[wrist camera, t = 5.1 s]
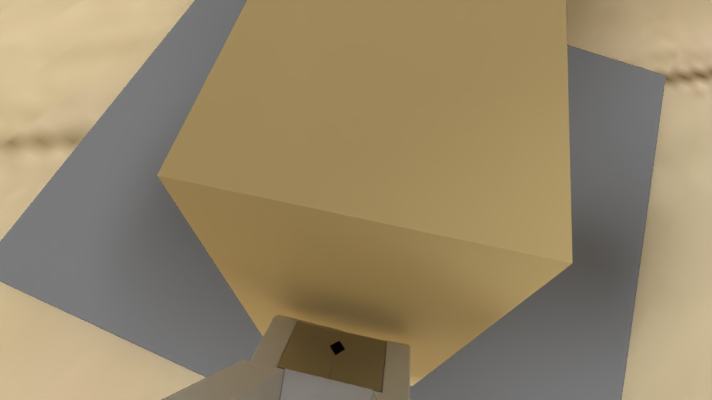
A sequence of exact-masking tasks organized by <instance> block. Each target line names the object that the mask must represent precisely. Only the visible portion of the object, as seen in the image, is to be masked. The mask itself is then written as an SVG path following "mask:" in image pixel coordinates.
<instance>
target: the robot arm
mask: <svg viewBox="0 0 712 400" xmlns="http://www.w3.org/2000/svg"><path fill="white" fill-rule="evenodd" d="M410 359H411V347H410V346H409V345H408V344H403V343H398V342H393V341H388V340H387V341H384V340H380V339H376V338H371V337H367V336H362V335H358V334H353V333H349V332H344V331H342V330H338V329H334V328H330V327H326V326H322V325H319V324H315V323H311V322H307V321H303V320H298V319H295V318H290V317H286V316H282V315H278V314H277V315H276V316H274V317H273V319H272V321H271V323H270V324H269V326H268V328H267V330H266V332H265V334H264V336H263V337H262V339H261V341H260V343H259V345H258V347H257V348H256V350H255V352H254V354H253V356H252V358H251V359H250V361H248V360H241V361H239V362H237V363H235V364H233V365H231V366H229V367H227V368H225V369H223V370H221V371H219V372H217V373H215V374H213V375H211V376H209V377H206V378H204V379H202V380H200V381H198V382H196V383H194V384H192V385H190V386H188V387H186V388H184V389H182V390H180V391H178V392H176V393H174V394H172V395H170V396H168V397H166V398H164V399H162V400H410Z"/></svg>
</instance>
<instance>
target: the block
mask: <svg viewBox="0 0 712 400" xmlns="http://www.w3.org/2000/svg"><path fill="white" fill-rule="evenodd" d="M157 176H158V177H159V179H160V180H161V182H162V183H163V185H164V187H165V188H166V190H167V191H168V193H169V194H170V196H171V197H172V199H173V200H174V202H175V203H176V205H177V206H178V208H179V209H180V211H181V212H182V214H183V216H184V217H185V219H186V220H187V222H188V223H189V225H190V226H191V228H192V229H193V231H194V232H195V234H196V235H197V237H198V238H199V240H200V241H201V243H202V245H203V246H204V248H205V249H206V251H207V252H208V254H209V255H210V257H211V258H212V260H213V261H214V263H215V264H216V266H217V267H218V269H219V270H220V272H221V273H222V275H223V277H224V278H225V280H226V281H227V283H228V284H229V286H230V287H231V289H232V290H233V292H234V293H235V295H236V296H237V298H238V299H239V301H240V302H241V304H242V306H243V307H244V309H245V310H246V312H247V313H248V315H249V316H250V318H251V319H252V321H253V322H254V324H255V325H256V327H257V328H258V330H259V331H260V333H261V335H262V336H264V334H265V332H266V330H267V328H268V326H269V324H270V323H271V321H272V319H273V317H274V316H276V315H277V314H278V315H282V316H286V317H290V318H295V319H298V320H303V321H307V322H311V323H315V324H319V325H322V326H326V327H330V328H334V329H338V330H342V331H344V332H349V333H353V334H358V335H362V336H367V337H371V338H376V339H380V340H384V341H387V340H388V341H393V342H398V343H403V344H408V345H409V346H410V347H411V359H410V386H413V385H414V384H416V383H417V382H418V381H420V380H421V379H422V378H424V377H425V376H426V375H427V374H429V373H430V372H431V371H433V370H434V369H435V368H437V367H438V366H439V365H441V364H442V363H443V362H444V361H446V360H447V359H448V358H450V357H451V356H452V355H454V354H455V353H456V352H457V351H459V350H460V349H461V348H463V347H464V346H465V345H467V344H468V343H469V342H471V341H472V340H473V339H474V338H476V337H477V336H478V335H480V334H481V333H482V332H484V331H485V330H486V329H487V328H489V327H490V326H491V325H493V324H494V323H495V322H497V321H498V320H499V319H501V318H502V317H503V316H504V315H506V314H507V313H508V312H510V311H511V310H512V309H514V308H515V307H516V306H517V305H519V304H520V303H521V302H523V301H524V300H525V299H527V298H528V297H529V296H531V295H532V294H533V293H534V292H536V291H537V290H538V289H540V288H541V287H542V286H544V285H545V284H546V283H547V282H549V281H550V280H551V279H553V278H554V277H555V276H557V275H558V274H559V273H561V272H562V271H563V270H564V269H566V268H567V267H568V266H570V265H571V264H572V221H571V180H570V138H569V97H568V56H567V14H566V0H247V1H246V3H245V5H244V7H243V9H242V11H241V13H240V15H239V17H238V19H237V21H236V23H235V25H234V27H233V29H232V31H231V33H230V34H229V36H228V38H227V40H226V42H225V44H224V46H223V48H222V50H221V52H220V54H219V56H218V58H217V60H216V62H215V64H214V66H213V68H212V69H211V71H210V73H209V75H208V77H207V79H206V81H205V83H204V85H203V87H202V89H201V91H200V93H199V95H198V97H197V99H196V101H195V103H194V104H193V106H192V108H191V110H190V112H189V114H188V116H187V118H186V120H185V122H184V124H183V126H182V128H181V130H180V132H179V134H178V136H177V138H176V139H175V141H174V143H173V145H172V147H171V149H170V151H169V153H168V155H167V157H166V159H165V161H164V163H163V165H162V167H161V169H160V171H159V173H158V174H157Z"/></svg>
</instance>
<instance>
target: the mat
mask: <svg viewBox="0 0 712 400" xmlns="http://www.w3.org/2000/svg"><path fill="white" fill-rule="evenodd" d="M246 1H247V0H195V1H194V2H193V3H192V5H191V6H190V7H189V8H188V10H187V11H186V12H185V13H184V15H183V16H182V17H181V18H180V20H179V21H178V22H177V23H176V25H175V26H174V27H173V28H172V30H171V31H170V32H169V33H168V34H167V36H166V37H165V38H164V39H163V41H162V42H161V43H160V44H159V46H158V47H157V48H156V49H155V51H154V52H153V53H152V54H151V56H150V57H149V58H148V59H147V61H146V62H145V63H144V64H143V65H142V67H141V68H140V69H139V70H138V72H137V73H136V74H135V75H134V77H133V78H132V79H131V80H130V82H129V83H128V84H127V85H126V87H125V88H124V89H123V90H122V91H121V93H120V94H119V95H118V96H117V98H116V99H115V100H114V101H113V103H112V104H111V105H110V106H109V108H108V109H107V110H106V111H105V113H104V114H103V115H102V116H101V118H100V119H99V120H98V121H97V122H96V124H95V125H94V126H93V127H92V129H91V130H90V131H89V132H88V134H87V135H86V136H85V137H84V139H83V140H82V141H81V142H80V144H79V145H78V146H77V147H76V149H75V150H74V151H73V152H72V153H71V155H70V156H69V157H68V158H67V160H66V161H65V162H64V163H63V165H62V166H61V167H60V168H59V170H58V171H57V172H56V173H55V175H54V176H53V177H52V178H51V179H50V181H49V182H48V183H47V184H46V186H45V187H44V188H43V189H42V191H41V192H40V193H39V194H38V196H37V197H36V198H35V199H34V201H33V202H32V203H31V204H30V206H29V207H28V208H27V209H26V210H25V212H24V213H23V214H22V215H21V217H20V218H19V219H18V220H17V222H16V223H15V224H14V225H13V227H12V228H11V229H10V230H9V232H8V233H7V234H6V235H5V237H4V238H3V239H2V240H1V241H0V282H3V283H5V284H7V285H9V286H11V287H13V288H15V289H18V290H20V291H22V292H24V293H26V294H28V295H30V296H33V297H35V298H37V299H39V300H41V301H43V302H45V303H48V304H50V305H52V306H54V307H56V308H58V309H60V310H63V311H65V312H67V313H69V314H71V315H73V316H76V317H78V318H80V319H82V320H84V321H86V322H88V323H91V324H93V325H95V326H97V327H99V328H101V329H103V330H106V331H108V332H110V333H112V334H114V335H116V336H118V337H121V338H123V339H125V340H127V341H129V342H131V343H134V344H136V345H138V346H140V347H142V348H144V349H146V350H149V351H151V352H153V353H155V354H157V355H159V356H161V357H164V358H166V359H168V360H170V361H172V362H174V363H176V364H179V365H181V366H183V367H185V368H187V369H189V370H191V371H194V372H196V373H198V374H200V375H202V376H204V377H209V376H211V375H213V374H215V373H217V372H219V371H221V370H223V369H225V368H227V367H229V366H231V365H233V364H235V363H237V362H239V361H241V360H248V361H250V359H251V358H252V356H253V354H254V352H255V350H256V348H257V347H258V345H259V343H260V341H261V339H262V337H263V336H262V335H261V333H260V331H259V330H258V328H257V327H256V325H255V324H254V322H253V321H252V319H251V318H250V316H249V315H248V313H247V312H246V310H245V309H244V307H243V306H242V304H241V302H240V301H239V299H238V298H237V296H236V295H235V293H234V292H233V290H232V289H231V287H230V286H229V284H228V283H227V281H226V280H225V278H224V277H223V275H222V273H221V272H220V270H219V269H218V267H217V266H216V264H215V263H214V261H213V260H212V258H211V257H210V255H209V254H208V252H207V251H206V249H205V248H204V246H203V245H202V243H201V241H200V240H199V238H198V237H197V235H196V234H195V232H194V231H193V229H192V228H191V226H190V225H189V223H188V222H187V220H186V219H185V217H184V216H183V214H182V212H181V211H180V209H179V208H178V206H177V205H176V203H175V202H174V200H173V199H172V197H171V196H170V194H169V193H168V191H167V190H166V188H165V187H164V185H163V183H162V182H161V180H160V179H159V177H158V176H157V174H158V173H159V171H160V169H161V167H162V165H163V163H164V161H165V159H166V157H167V155H168V153H169V151H170V149H171V147H172V145H173V143H174V141H175V139H176V138H177V136H178V134H179V132H180V130H181V128H182V126H183V124H184V122H185V120H186V118H187V116H188V114H189V112H190V110H191V108H192V106H193V104H194V103H195V101H196V99H197V97H198V95H199V93H200V91H201V89H202V87H203V85H204V83H205V81H206V79H207V77H208V75H209V73H210V71H211V69H212V68H213V66H214V64H215V62H216V60H217V58H218V56H219V54H220V52H221V50H222V48H223V46H224V44H225V42H226V40H227V38H228V36H229V34H230V33H231V31H232V29H233V27H234V25H235V23H236V21H237V19H238V17H239V15H240V13H241V11H242V9H243V7H244V5H245V3H246ZM567 56H568V97H569V138H570V180H571V221H572V264H571V265H570V266H568V267H567V268H566V269H564V270H563V271H562V272H561V273H559V274H558V275H557V276H555V277H554V278H553V279H551V280H550V281H549V282H547V283H546V284H545V285H544V286H542V287H541V288H540V289H538V290H537V291H536V292H534V293H533V294H532V295H531V296H529V297H528V298H527V299H525V300H524V301H523V302H521V303H520V304H519V305H517V306H516V307H515V308H514V309H512V310H511V311H510V312H508V313H507V314H506V315H504V316H503V317H502V318H501V319H499V320H498V321H497V322H495V323H494V324H493V325H491V326H490V327H489V328H487V329H486V330H485V331H484V332H482V333H481V334H480V335H478V336H477V337H476V338H474V339H473V340H472V341H471V342H469V343H468V344H467V345H465V346H464V347H463V348H461V349H460V350H459V351H457V352H456V353H455V354H454V355H452V356H451V357H450V358H448V359H447V360H446V361H444V362H443V363H442V364H441V365H439V366H438V367H437V368H435V369H434V370H433V371H431V372H430V373H429V374H427V375H426V376H425V377H424V378H422V379H421V380H420V381H418V382H417V383H416V384H414V385H413V386H410V400H622V392H623V385H624V378H625V370H626V363H627V356H628V348H629V341H630V334H631V326H632V319H633V312H634V304H635V297H636V290H637V282H638V275H639V268H640V260H641V253H642V246H643V238H644V231H645V224H646V216H647V209H648V202H649V194H650V187H651V180H652V172H653V165H654V158H655V150H656V143H657V136H658V129H659V121H660V114H661V107H662V99H663V92H664V85H665V77H666V75H662V74H659V73H656V72H653V71H649V70H646V69H643V68H640V67H636V66H633V65H630V64H627V63H624V62H620V61H617V60H614V59H611V58H607V57H604V56H601V55H598V54H595V53H591V52H588V51H585V50H582V49H578V48H575V47H572V46H569V45H567Z"/></svg>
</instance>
